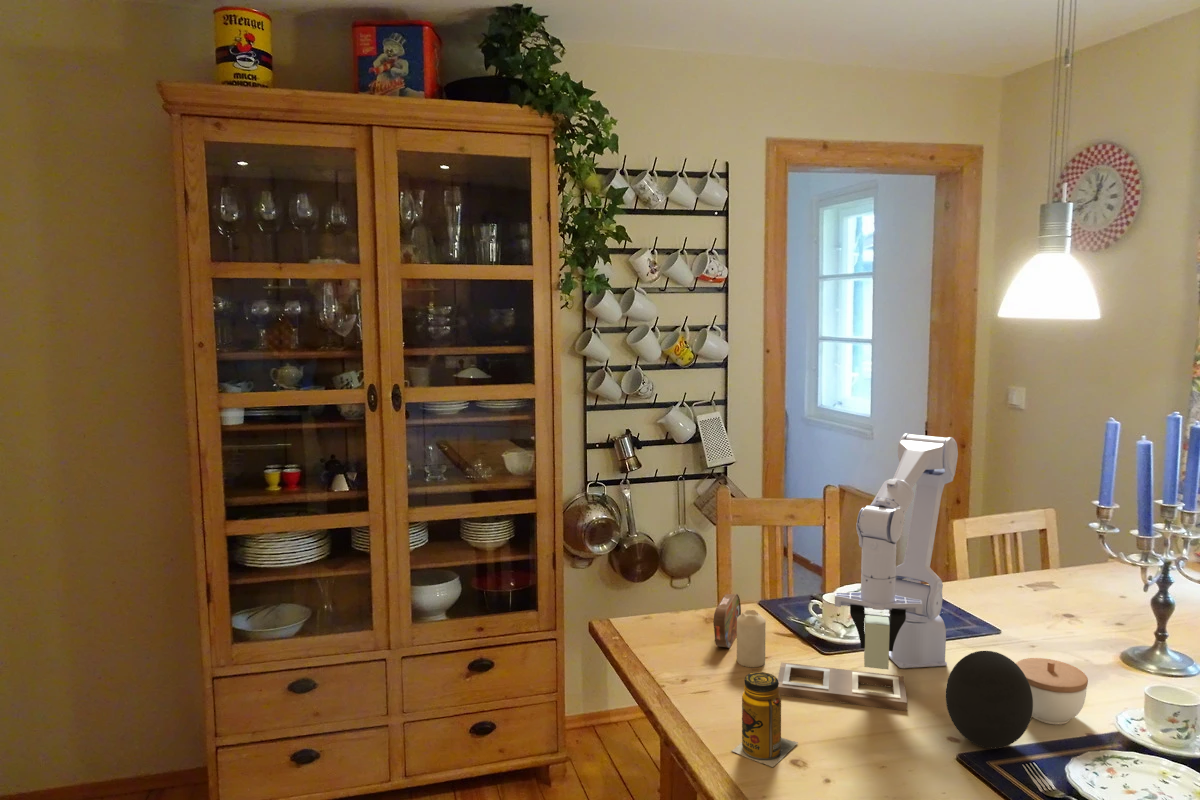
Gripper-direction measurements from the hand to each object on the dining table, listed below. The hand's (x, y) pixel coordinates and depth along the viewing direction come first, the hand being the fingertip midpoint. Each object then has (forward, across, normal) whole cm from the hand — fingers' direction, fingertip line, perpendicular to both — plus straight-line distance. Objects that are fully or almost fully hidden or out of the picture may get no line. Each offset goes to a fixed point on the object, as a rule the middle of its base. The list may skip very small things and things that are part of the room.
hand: (876, 647), depth 143 cm
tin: (+9, -29, +16) cm, 35 cm away
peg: (+3, 0, 0) cm, 3 cm away
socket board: (+9, -6, 0) cm, 10 cm away
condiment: (+9, -17, -23) cm, 30 cm away
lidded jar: (+9, +28, 0) cm, 29 cm away
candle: (+9, -23, +7) cm, 26 cm away
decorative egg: (+9, +16, -12) cm, 22 cm away
